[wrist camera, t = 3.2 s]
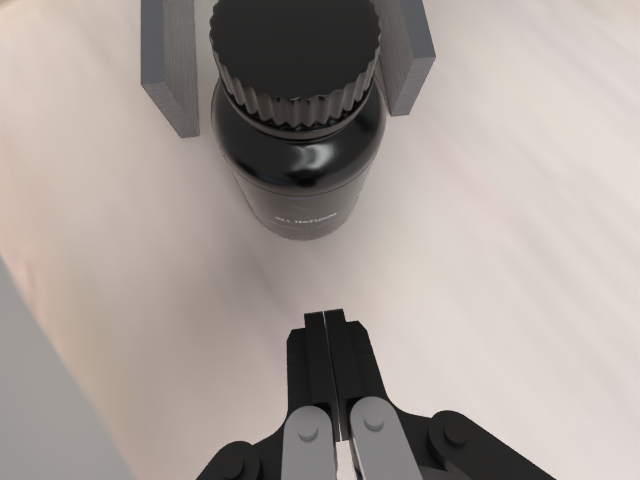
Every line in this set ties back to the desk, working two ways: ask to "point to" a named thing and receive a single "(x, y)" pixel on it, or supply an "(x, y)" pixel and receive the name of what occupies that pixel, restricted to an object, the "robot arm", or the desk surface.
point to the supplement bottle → (298, 107)
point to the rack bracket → (180, 57)
